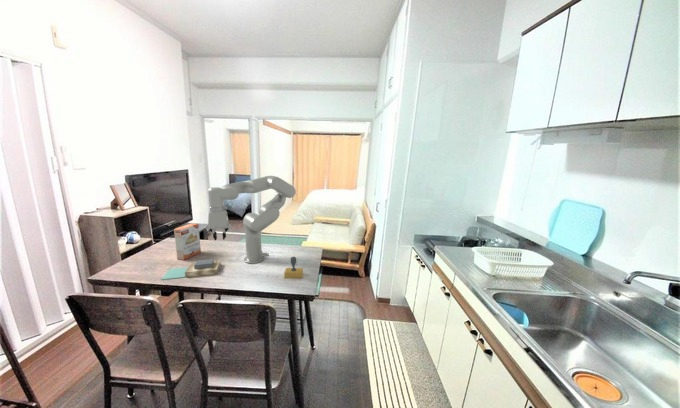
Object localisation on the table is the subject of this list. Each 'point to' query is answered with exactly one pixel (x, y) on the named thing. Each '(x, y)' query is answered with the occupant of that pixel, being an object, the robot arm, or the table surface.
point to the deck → (202, 270)
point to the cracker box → (187, 241)
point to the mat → (175, 273)
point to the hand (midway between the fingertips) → (219, 238)
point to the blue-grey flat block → (204, 263)
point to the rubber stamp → (293, 270)
